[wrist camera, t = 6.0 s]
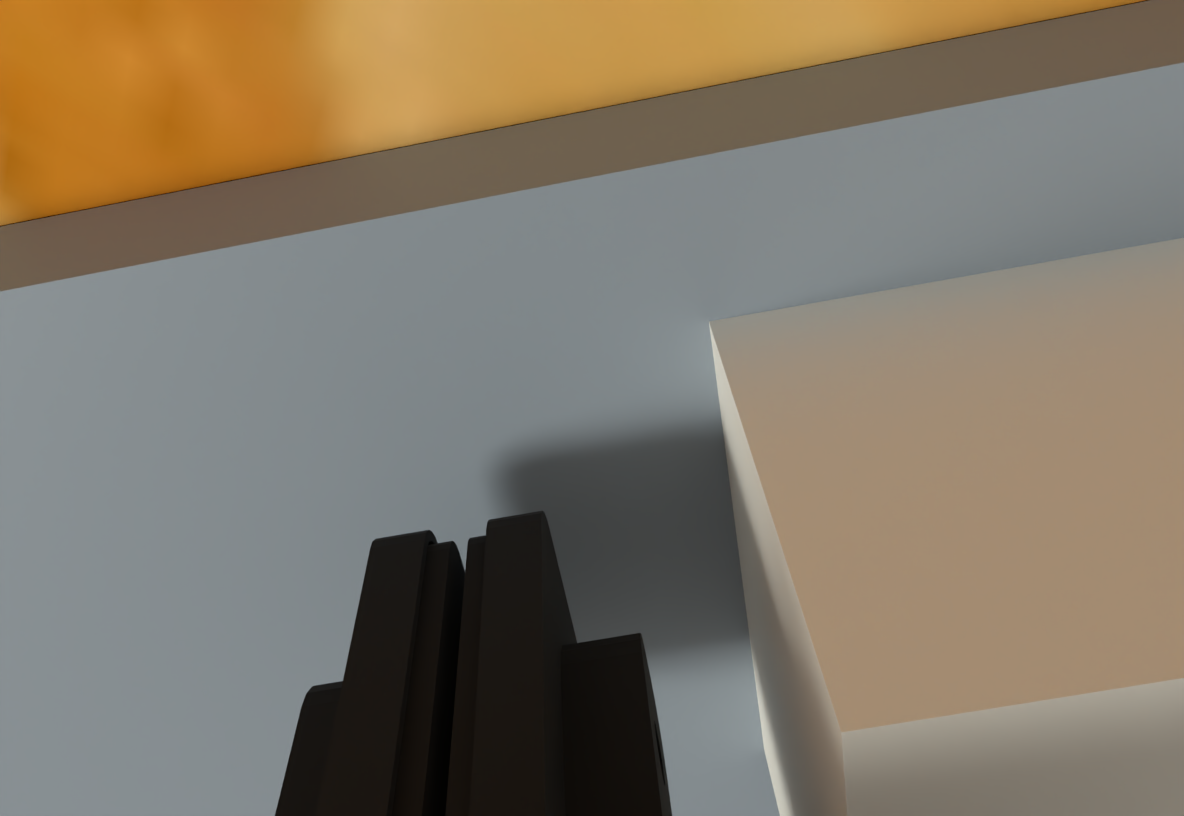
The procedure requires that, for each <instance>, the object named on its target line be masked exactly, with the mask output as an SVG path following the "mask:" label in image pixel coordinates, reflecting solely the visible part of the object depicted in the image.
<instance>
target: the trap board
mask: <svg viewBox="0 0 1184 816" xmlns="http://www.w3.org/2000/svg"><path fill="white" fill-rule="evenodd" d="M1179 238H1184V0H1149V1H1144V2H1139V3H1134V4H1129V5H1124V6H1119V7H1114V8H1109V9H1103V10H1098V11H1093V12H1088V13H1083V14H1078V15H1073V16H1068V17H1063V18H1058V19H1053V20H1048V21H1042V22H1037V23H1032V24H1027V25H1022V26H1017V27H1012V28H1007V29H1002V30H997V31H992V32H987V33H981V34H976V35H971V36H966V37H961V38H956V39H951V40H946V41H941V42H936V43H931V44H926V45H921V46H915V47H910V48H905V49H900V50H895V51H890V52H885V53H880V54H875V55H870V56H865V57H860V58H854V59H849V60H844V61H839V62H834V63H829V64H824V65H819V66H814V67H809V68H804V69H799V70H793V71H788V72H783V73H778V74H773V75H768V76H763V77H758V78H753V79H748V80H743V81H738V82H732V83H727V84H722V85H717V86H712V87H707V88H702V89H697V90H692V91H687V92H682V93H677V94H672V95H666V96H661V97H656V98H651V99H646V100H641V101H636V102H631V103H626V104H621V105H616V106H611V107H605V108H600V109H595V110H590V111H585V112H580V113H575V114H570V115H565V116H560V117H555V118H550V119H544V120H539V121H534V122H529V123H524V124H519V125H514V126H509V127H504V128H499V129H494V130H489V131H484V132H478V133H473V134H468V135H463V136H458V137H453V138H448V139H443V140H438V141H433V142H428V143H423V144H417V145H412V146H407V147H402V148H397V149H392V150H387V151H382V152H377V153H372V154H367V155H362V156H356V157H351V158H346V159H341V160H336V161H331V162H326V163H321V164H316V165H311V166H306V167H301V168H296V169H290V170H285V171H280V172H275V173H270V174H265V175H260V176H255V177H250V178H245V179H240V180H235V181H229V182H224V183H219V184H214V185H209V186H204V187H199V188H194V189H189V190H184V191H179V192H174V193H168V194H163V195H158V196H153V197H148V198H143V199H138V200H133V201H128V202H123V203H118V204H113V205H107V206H102V207H97V208H92V209H87V210H82V211H77V212H72V213H67V214H62V215H57V216H52V217H47V218H41V219H36V220H31V221H26V222H21V223H16V224H11V225H6V226H1V227H0V816H275V813H276V809H277V805H278V801H279V797H280V792H281V788H282V784H283V780H284V776H285V772H286V768H287V764H288V760H289V755H290V751H291V747H292V743H293V739H294V735H295V731H296V727H297V723H298V719H299V714H300V710H301V706H302V704H303V701H304V698H305V695H306V693H307V692H308V691H309V689H310V688H311V687H312V686H315V685H321V684H328V683H334V682H340V681H343V678H344V673H345V668H346V663H347V658H348V654H349V649H350V644H351V639H352V634H353V629H354V624H355V620H356V615H357V610H358V605H359V600H360V595H361V590H362V585H363V581H364V576H365V571H366V566H367V561H368V556H369V551H370V547H371V544H372V541H374V540H375V539H377V538H383V537H389V536H395V535H401V534H407V533H413V532H419V531H424V530H430V531H432V532H433V534H434V535H435V537H436V540H437V542H438V543H442V542H448V541H454V542H455V544H456V545H457V548H458V550H459V553H460V557H461V560H462V563H463V566H464V570H465V568H466V556H467V544H468V540H469V538H472V537H478V536H484V535H486V527H487V522H488V520H490V519H496V518H502V517H508V516H514V515H520V514H525V513H531V512H537V511H544V512H545V515H546V518H547V521H548V525H549V528H550V533H551V537H552V541H553V545H554V549H555V553H556V557H557V561H558V566H559V570H560V574H561V578H562V582H563V586H564V590H565V594H566V598H567V603H568V607H569V611H570V615H571V619H572V623H573V627H574V631H575V635H576V640H577V643H580V642H586V641H593V640H599V639H605V638H611V637H617V636H623V635H630V634H636V633H641V635H642V638H643V643H644V647H645V652H646V657H647V662H648V667H649V672H650V677H651V682H652V687H653V693H654V698H655V704H656V709H657V715H658V721H659V727H660V733H661V739H662V746H663V752H664V759H665V766H666V773H667V780H668V787H669V795H670V802H671V810H672V816H780V814H779V810H778V806H777V802H776V797H775V793H774V789H773V785H772V781H771V776H770V772H769V768H768V764H767V760H766V755H765V751H764V745H763V737H762V729H761V722H760V714H759V706H758V698H757V691H756V683H755V675H754V667H753V660H752V652H751V644H750V636H749V629H748V621H747V613H746V605H745V598H744V590H743V582H742V574H741V567H740V559H739V551H738V543H737V536H736V528H735V520H734V512H733V505H732V497H731V489H730V481H729V474H728V466H727V458H726V450H725V443H724V435H723V427H722V419H721V411H720V404H719V396H718V388H717V380H716V373H715V365H714V357H713V349H712V342H711V334H710V326H709V321H715V320H720V319H726V318H732V317H737V316H743V315H749V314H754V313H760V312H766V311H771V310H777V309H783V308H788V307H794V306H800V305H805V304H811V303H817V302H822V301H828V300H834V299H839V298H845V297H851V296H856V295H862V294H868V293H873V292H879V291H885V290H890V289H896V288H902V287H907V286H913V285H919V284H924V283H930V282H936V281H941V280H947V279H953V278H958V277H964V276H970V275H975V274H981V273H987V272H992V271H998V270H1004V269H1009V268H1015V267H1021V266H1026V265H1032V264H1038V263H1043V262H1049V261H1055V260H1060V259H1066V258H1072V257H1077V256H1083V255H1089V254H1094V253H1100V252H1106V251H1111V250H1117V249H1123V248H1128V247H1134V246H1140V245H1145V244H1151V243H1157V242H1162V241H1168V240H1174V239H1179Z"/></svg>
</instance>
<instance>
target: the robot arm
mask: <svg viewBox="0 0 1184 816" xmlns="http://www.w3.org/2000/svg"><path fill="white" fill-rule="evenodd" d="M275 816H672V810H671V802H670V795H669V787H668V780H667V773H666V766H665V759H664V752H663V746H662V739H661V733H660V727H659V721H658V715H657V709H656V704H655V698H654V693H653V687H652V682H651V677H650V672H649V667H648V662H647V657H646V652H645V647H644V643H643V638H642V635H641V633H636V634H630V635H623V636H617V637H611V638H605V639H599V640H593V641H586V642H580V643H577V640H576V635H575V631H574V627H573V623H572V619H571V615H570V611H569V607H568V603H567V598H566V594H565V590H564V586H563V582H562V578H561V574H560V570H559V566H558V561H557V557H556V553H555V549H554V545H553V541H552V537H551V533H550V528H549V525H548V521H547V518H546V515H545V512H544V511H537V512H531V513H525V514H520V515H514V516H508V517H502V518H496V519H490V520H488V522H487V527H486V535H484V536H478V537H472V538H469V540H468V544H467V556H466V568H465V570H464V566H463V563H462V560H461V557H460V553H459V550H458V548H457V545H456V544H455V542H454V541H448V542H442V543H438V542H437V540H436V537H435V535H434V534H433V532H432V531H430V530H424V531H419V532H413V533H407V534H401V535H395V536H389V537H383V538H377V539H375V540H374V541H372V544H371V547H370V551H369V556H368V561H367V566H366V571H365V576H364V581H363V585H362V590H361V595H360V600H359V605H358V610H357V615H356V620H355V624H354V629H353V634H352V639H351V644H350V649H349V654H348V658H347V663H346V668H345V673H344V678H343V681H340V682H334V683H328V684H321V685H315V686H312V687H311V688H310V689H309V691H308V692H307V693H306V695H305V698H304V701H303V704H302V706H301V710H300V714H299V719H298V723H297V727H296V731H295V735H294V739H293V743H292V747H291V751H290V755H289V760H288V764H287V768H286V772H285V776H284V780H283V784H282V788H281V792H280V797H279V801H278V805H277V809H276V813H275Z"/></svg>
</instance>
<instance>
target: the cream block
mask: <svg viewBox="0 0 1184 816" xmlns="http://www.w3.org/2000/svg"><path fill="white" fill-rule="evenodd" d="M709 326H710V334H711V342H712V349H713V357H714V365H715V373H716V380H717V388H718V396H719V404H720V411H721V419H722V427H723V435H724V443H725V450H726V458H727V466H728V474H729V481H730V489H731V497H732V505H733V512H734V520H735V528H736V536H737V543H738V551H739V559H740V567H741V574H742V582H743V590H744V598H745V605H746V613H747V621H748V629H749V636H750V644H751V652H752V660H753V667H754V675H755V683H756V691H757V698H758V706H759V714H760V722H761V729H762V737H763V745H764V751H765V755H766V760H767V764H768V768H769V772H770V776H771V781H772V785H773V789H774V793H775V797H776V802H777V806H778V810H779V814H780V816H1184V238H1179V239H1174V240H1168V241H1162V242H1157V243H1151V244H1145V245H1140V246H1134V247H1128V248H1123V249H1117V250H1111V251H1106V252H1100V253H1094V254H1089V255H1083V256H1077V257H1072V258H1066V259H1060V260H1055V261H1049V262H1043V263H1038V264H1032V265H1026V266H1021V267H1015V268H1009V269H1004V270H998V271H992V272H987V273H981V274H975V275H970V276H964V277H958V278H953V279H947V280H941V281H936V282H930V283H924V284H919V285H913V286H907V287H902V288H896V289H890V290H885V291H879V292H873V293H868V294H862V295H856V296H851V297H845V298H839V299H834V300H828V301H822V302H817V303H811V304H805V305H800V306H794V307H788V308H783V309H777V310H771V311H766V312H760V313H754V314H749V315H743V316H737V317H732V318H726V319H720V320H715V321H709Z"/></svg>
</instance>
